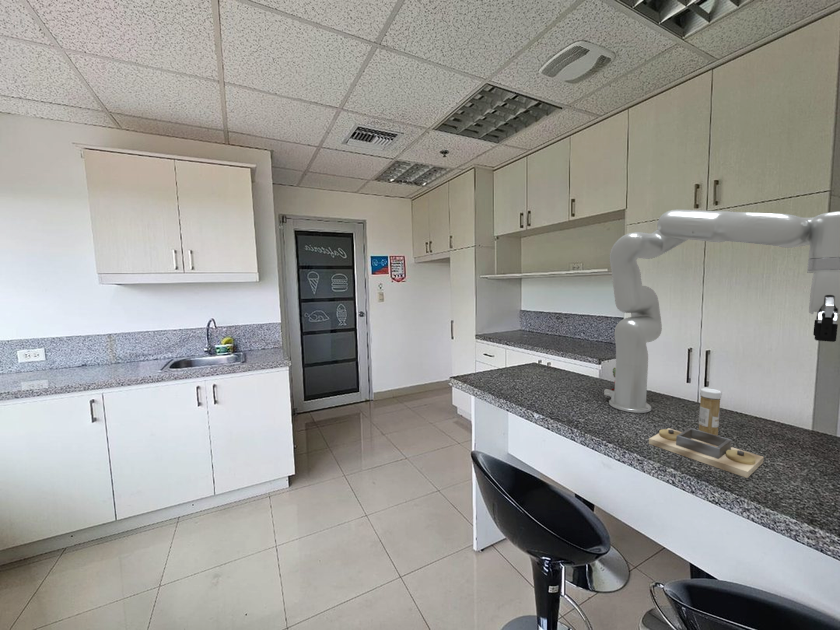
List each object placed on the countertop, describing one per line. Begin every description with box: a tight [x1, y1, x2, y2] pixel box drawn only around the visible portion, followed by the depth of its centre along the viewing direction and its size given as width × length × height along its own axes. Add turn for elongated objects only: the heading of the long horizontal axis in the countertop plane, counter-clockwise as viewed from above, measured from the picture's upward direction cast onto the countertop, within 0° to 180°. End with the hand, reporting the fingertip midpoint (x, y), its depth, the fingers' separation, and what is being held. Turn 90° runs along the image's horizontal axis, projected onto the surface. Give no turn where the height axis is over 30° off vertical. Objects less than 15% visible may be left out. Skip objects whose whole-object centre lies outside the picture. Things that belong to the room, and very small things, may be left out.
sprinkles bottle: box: [698, 387, 723, 436], centre depth 98 cm, size 5×5×13 cm
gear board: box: [648, 427, 765, 479], centre depth 89 cm, size 20×12×4 cm, turn 33°
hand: (823, 338), depth 83 cm, fingers open, 9 cm apart
